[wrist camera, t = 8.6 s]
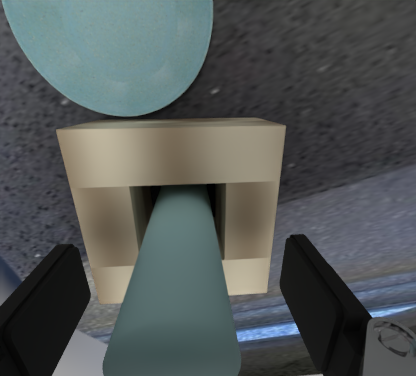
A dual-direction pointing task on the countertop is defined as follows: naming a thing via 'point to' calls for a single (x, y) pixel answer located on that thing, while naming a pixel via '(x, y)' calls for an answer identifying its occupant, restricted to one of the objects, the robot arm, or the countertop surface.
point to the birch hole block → (174, 175)
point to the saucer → (115, 49)
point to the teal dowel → (176, 296)
